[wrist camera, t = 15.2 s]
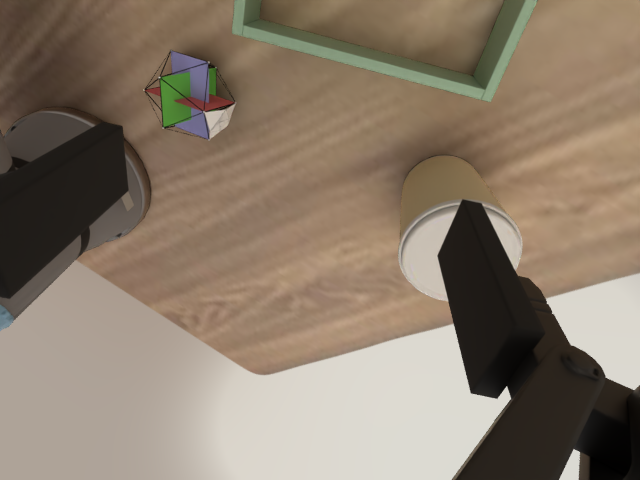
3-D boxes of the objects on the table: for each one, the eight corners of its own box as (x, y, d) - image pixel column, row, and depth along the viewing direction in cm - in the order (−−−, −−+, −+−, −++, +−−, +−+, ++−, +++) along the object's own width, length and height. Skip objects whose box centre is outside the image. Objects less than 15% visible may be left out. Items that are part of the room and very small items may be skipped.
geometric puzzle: (142, 119, 38) (161, 154, 33) (134, 41, 34) (154, 66, 29) (215, 117, 42) (243, 148, 36) (216, 46, 38) (247, 69, 32)
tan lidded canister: (375, 199, 42) (374, 268, 32) (435, 127, 37) (456, 183, 27) (444, 243, 44) (463, 321, 34) (509, 180, 39) (553, 250, 29)
